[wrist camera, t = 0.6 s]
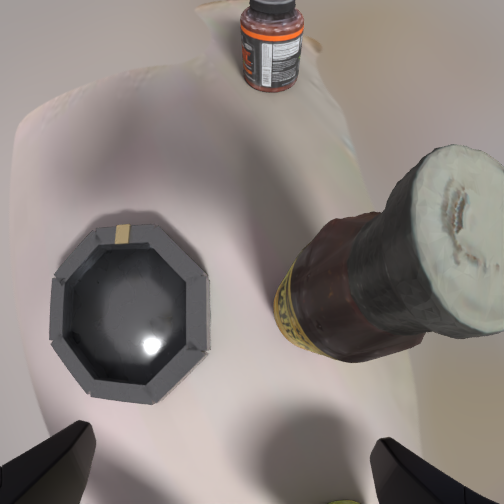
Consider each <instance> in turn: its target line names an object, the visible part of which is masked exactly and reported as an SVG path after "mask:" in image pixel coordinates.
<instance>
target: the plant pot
mask: <svg viewBox="0 0 504 504" xmlns="http://www.w3.org/2000/svg"><path fill="white" fill-rule="evenodd" d="M328 504H360V503H358V502H356V501H351V500H340V501H335V502H331V503H328Z"/></svg>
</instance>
